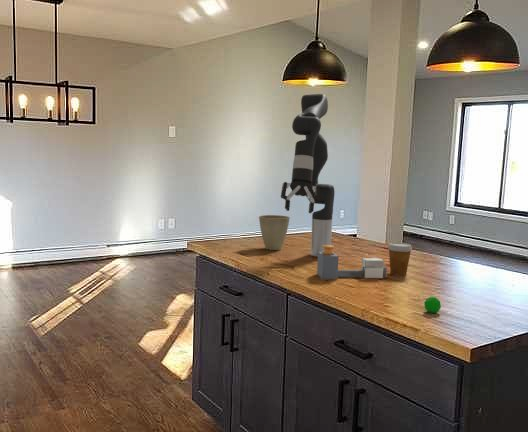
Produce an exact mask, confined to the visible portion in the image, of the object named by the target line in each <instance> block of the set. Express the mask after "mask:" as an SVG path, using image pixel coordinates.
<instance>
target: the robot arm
mask: <svg viewBox="0 0 528 432" xmlns="http://www.w3.org/2000/svg"><path fill="white" fill-rule="evenodd" d="M328 101H329V100H328V97H327V95H325V94H323V93H314V94H312V93H311V94H310V93H309V94H303V95H302V96H301V100H300V103H301V104H300V106H301V113H300V114H298V115H296V117H295V118H294V119H293V121H292V126H291V128H292V131H293V133H294V134H296V135H298V136H305V139H302V140H299V141H296V142H295V146H294V147H295V148H294V158H293V163H292V173H291V182H288V181H284V182H283V183H282V186H281V193H280V198H281V199H283V200H284V201H285V203H284V210H285V211H286V212H289V211H290V207H291V198H292V197H293V196H294V195H295V197H296V196H297V197H305V198H307V201H308V202H309V206H308V214H311V237H310V238H311V239H310V240H311V241H310V256H311V257H316V258H318V252H324V248H323V245H332V236H333V235H332V232H333V231H332V230H333V213H334V205H335V202H334V201H335V192H336V191H335V187H334V185H332V184H329V183H328V184H327V183H326V184H325V183H319V175H320V173H321V171H322V170H323V168H324V166H325V165H326V163H327V161H328V159H329V158H328V157H329V155H328V154H329V151H328V144H327V141H326V139H325V138H324V136H323V135H322V134H321V133H320V131H321V128H322V124H321V123H322V122H321V119H322V118H323V117H324V116H326V115H327V112H328V110H329V109H328V108H329V102H328ZM288 188H290V189H291V191H290V192H289V193H288V195H287V194H286V193H287V189H288ZM315 204H318V205H324V207H323V208H322V209H319V210H316V211H314V209H315V208H314V207H315Z"/></svg>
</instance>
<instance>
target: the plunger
mask: <svg viewBox="0 0 528 432" xmlns="http://www.w3.org/2000/svg"><path fill="white" fill-rule="evenodd" d="M323 248H324V255H332V254H333V252H334V251H333V250H334V248H335V245H332V244H331V245H323Z"/></svg>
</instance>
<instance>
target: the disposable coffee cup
mask: <svg viewBox="0 0 528 432" xmlns="http://www.w3.org/2000/svg"><path fill="white" fill-rule="evenodd" d="M387 248H388V255H389V256H388V257H389V268H390V269H389V270H390V271H389V272H390V274H392V275H395V276H406V275H407V273H408V272H407V271H408V268H409V267H408V266H409V263H410V262H409V261H410V256H411V252H412V250H413V247H412V245H411V244H410V243H404V242H389V244H388V247H387Z"/></svg>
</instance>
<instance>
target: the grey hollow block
mask: <svg viewBox="0 0 528 432" xmlns="http://www.w3.org/2000/svg"><path fill="white" fill-rule="evenodd" d="M316 263H317V266H316V275H317V276H318V277H319V278H320V279H321V280H338V278H339V277H338V270H339V255H338V254H337V253H335V252H334V251H333V254H332V255H324V252H318V257H317V262H316Z"/></svg>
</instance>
